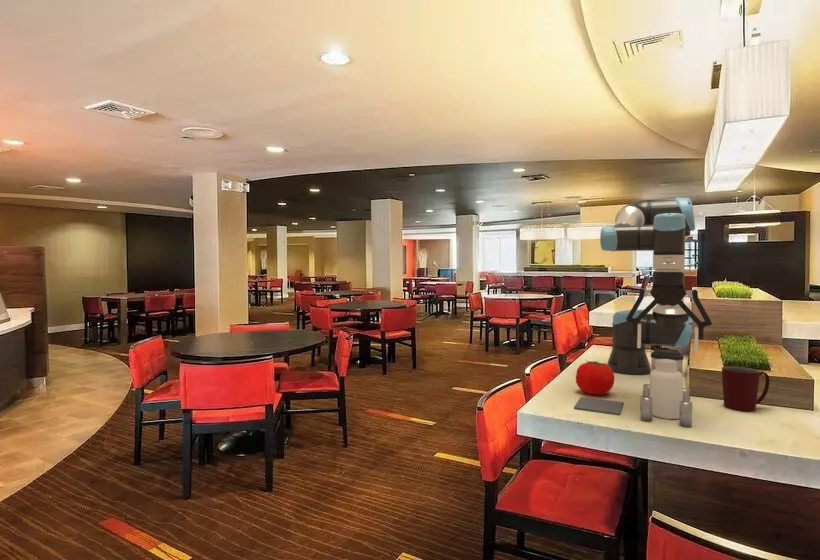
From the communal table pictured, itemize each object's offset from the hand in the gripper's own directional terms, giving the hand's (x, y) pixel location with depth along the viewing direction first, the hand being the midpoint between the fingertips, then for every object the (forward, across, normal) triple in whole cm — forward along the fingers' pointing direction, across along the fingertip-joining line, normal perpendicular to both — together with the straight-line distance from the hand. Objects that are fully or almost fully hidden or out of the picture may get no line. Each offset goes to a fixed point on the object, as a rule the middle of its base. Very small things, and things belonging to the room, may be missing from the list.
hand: (666, 349), depth 130 cm
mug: (+18, +20, +18) cm, 33 cm away
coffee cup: (+18, 0, +20) cm, 27 cm away
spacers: (+18, 0, 0) cm, 18 cm away
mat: (+18, -17, 0) cm, 25 cm away
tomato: (+18, -20, +14) cm, 31 cm away
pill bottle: (+18, 0, 0) cm, 18 cm away
